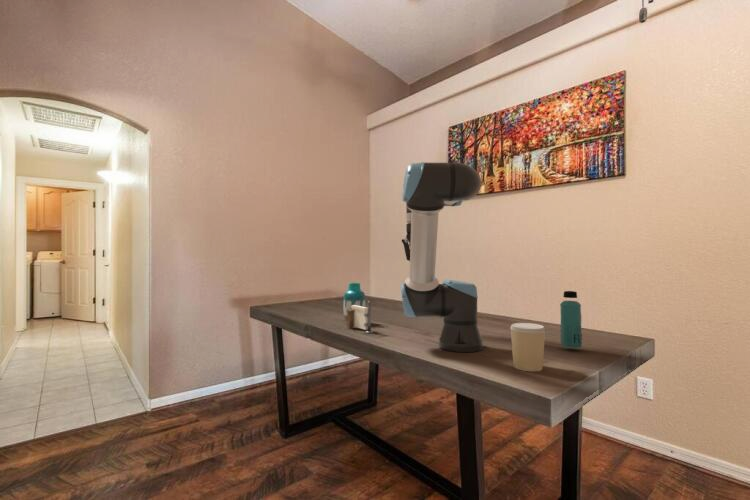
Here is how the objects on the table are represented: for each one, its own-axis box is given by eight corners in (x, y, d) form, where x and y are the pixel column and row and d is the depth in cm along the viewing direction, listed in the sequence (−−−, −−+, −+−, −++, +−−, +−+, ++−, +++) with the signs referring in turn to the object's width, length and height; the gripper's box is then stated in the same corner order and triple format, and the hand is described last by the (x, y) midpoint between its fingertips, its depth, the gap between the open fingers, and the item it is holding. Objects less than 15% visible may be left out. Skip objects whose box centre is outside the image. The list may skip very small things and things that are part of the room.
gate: (369, 329, 153) (369, 308, 153) (366, 330, 152) (366, 308, 152) (354, 325, 163) (354, 304, 163) (351, 325, 162) (351, 305, 162)
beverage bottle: (574, 353, 119) (573, 292, 119) (555, 348, 125) (555, 290, 125) (586, 351, 122) (585, 291, 122) (568, 346, 128) (567, 289, 128)
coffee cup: (534, 361, 110) (533, 322, 110) (552, 371, 101) (552, 328, 101) (504, 363, 109) (504, 323, 109) (521, 373, 99) (520, 329, 100)
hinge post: (375, 332, 151) (375, 301, 151) (367, 333, 149) (367, 301, 149) (370, 331, 154) (370, 300, 154) (363, 332, 152) (363, 300, 152)
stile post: (354, 328, 160) (354, 310, 160) (349, 329, 159) (349, 310, 159) (351, 327, 162) (351, 309, 162) (346, 328, 161) (346, 309, 161)
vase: (339, 324, 169) (339, 283, 170) (349, 320, 179) (349, 281, 179) (360, 326, 165) (359, 284, 166) (369, 322, 175) (368, 282, 175)
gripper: (432, 222, 158) (432, 276, 157) (407, 224, 166) (407, 276, 166) (423, 221, 152) (423, 277, 152) (397, 223, 160) (398, 276, 160)
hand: (415, 276), depth 159 cm, fingers closed
